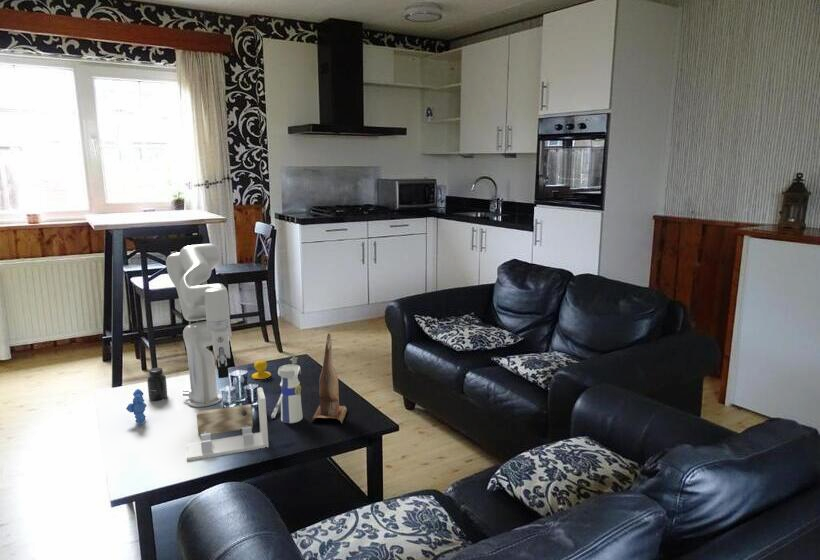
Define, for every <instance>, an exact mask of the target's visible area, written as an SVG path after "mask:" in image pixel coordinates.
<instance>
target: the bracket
mask: <svg viewBox="0 0 820 560" xmlns="http://www.w3.org/2000/svg"><path fill="white" fill-rule="evenodd" d="M280 408H281V395H279V398H278V401H277V403H276V404H275V407H274V409H273V411H272V413H271V414H270V416H271V419H273V418H274V419H275V418H276V415H277V413H278V411H279V409H280Z"/></svg>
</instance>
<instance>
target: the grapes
mask: <svg viewBox="0 0 820 560" xmlns="http://www.w3.org/2000/svg"><path fill="white" fill-rule="evenodd" d="M132 395H133V399H132V403H131V402H130V403H128V405H127V406H126V408H125V409H126V410H127V412H129V413H133V415H134V418H135V420H134V421H135V422H136V423H137V424H138V425H143V424H144V423H145V421H146V414H145V413H144V412H145V411H146V408H147V404H146V403H145V399H144V397H143V396H144V392H143V391H142V390H141V389H139V388H137V389H135V390H134V392H133V393H132Z"/></svg>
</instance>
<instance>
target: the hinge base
mask: <svg viewBox="0 0 820 560" xmlns="http://www.w3.org/2000/svg"><path fill="white" fill-rule="evenodd" d="M256 390H257V391H256V392H257V393H256V394H257V403H258V404H257V406H258V418H259V419H258V420H259V432H253V428H252V427H251V426H248V425H245V426H244V427H243V428H242V429H241V435H236V436H235V435H234V436H230V437H229V436H228V437H223V438H217V439H216V438H215V439H212V436H211V435H212V434H211V433H208V432H203V434H201V436H200V441H198V442H192V443H191V442H190V443H187V444H186V461H187V460H190V461H194V460H193V459H196V460H200V459H199V458H202V459H207V458H206V457H208V458H213V456H214V457H218V456H225V455H230V454H238V453H241V452H242V453H243V452H249V451H254V450H258V449H259V450H260V448H261V449H266V448H265V447H267V448H270V447H269V445H270V444H269V433H268V418H267V402H266V396H265V393H264V389H263V387H262V386H261V387H257V388H256Z"/></svg>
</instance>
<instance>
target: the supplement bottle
mask: <svg viewBox="0 0 820 560" xmlns="http://www.w3.org/2000/svg"><path fill="white" fill-rule="evenodd" d="M148 371H149V373H148V374H149V376H148V377H147V379H146V380H147V393H148V399H149V401H151V402H159V401H163V400H166V399H167V398H168V388H167V387H168V385H167V377H166V375H165V374H164V372H163V368H162V367H154V368H153V367H152V368H150V369H149V370H148Z"/></svg>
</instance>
